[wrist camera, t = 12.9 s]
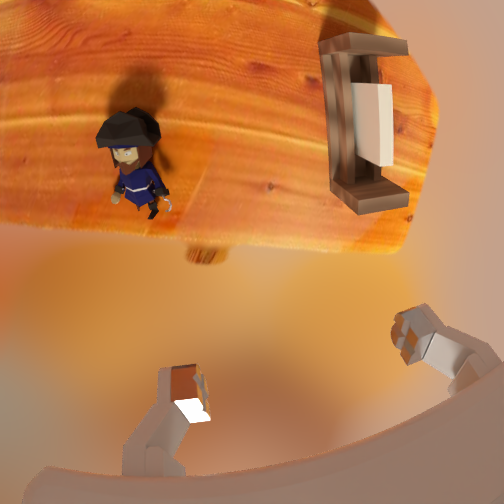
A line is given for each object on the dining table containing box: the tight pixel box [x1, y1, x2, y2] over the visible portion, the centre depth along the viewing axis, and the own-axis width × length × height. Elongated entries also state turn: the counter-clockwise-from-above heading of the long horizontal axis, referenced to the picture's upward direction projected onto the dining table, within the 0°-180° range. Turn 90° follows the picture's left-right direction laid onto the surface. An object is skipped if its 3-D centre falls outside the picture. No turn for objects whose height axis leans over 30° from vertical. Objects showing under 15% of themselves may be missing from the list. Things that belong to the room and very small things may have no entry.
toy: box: [96, 107, 172, 219], centre depth 33 cm, size 9×6×15 cm
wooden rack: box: [318, 32, 409, 215], centre depth 32 cm, size 22×8×9 cm, turn 7°
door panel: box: [351, 83, 393, 167], centre depth 32 cm, size 10×2×8 cm, turn 7°
